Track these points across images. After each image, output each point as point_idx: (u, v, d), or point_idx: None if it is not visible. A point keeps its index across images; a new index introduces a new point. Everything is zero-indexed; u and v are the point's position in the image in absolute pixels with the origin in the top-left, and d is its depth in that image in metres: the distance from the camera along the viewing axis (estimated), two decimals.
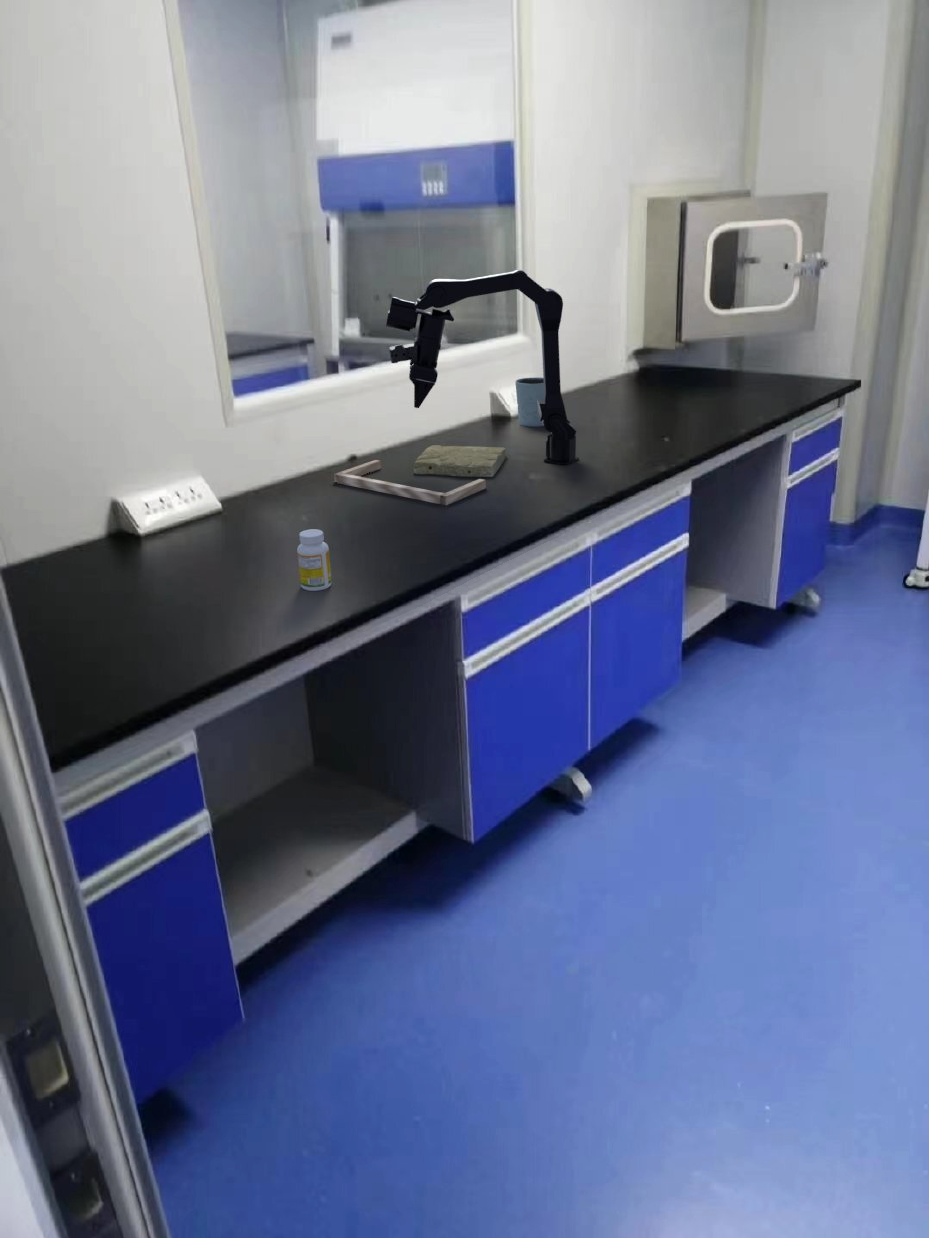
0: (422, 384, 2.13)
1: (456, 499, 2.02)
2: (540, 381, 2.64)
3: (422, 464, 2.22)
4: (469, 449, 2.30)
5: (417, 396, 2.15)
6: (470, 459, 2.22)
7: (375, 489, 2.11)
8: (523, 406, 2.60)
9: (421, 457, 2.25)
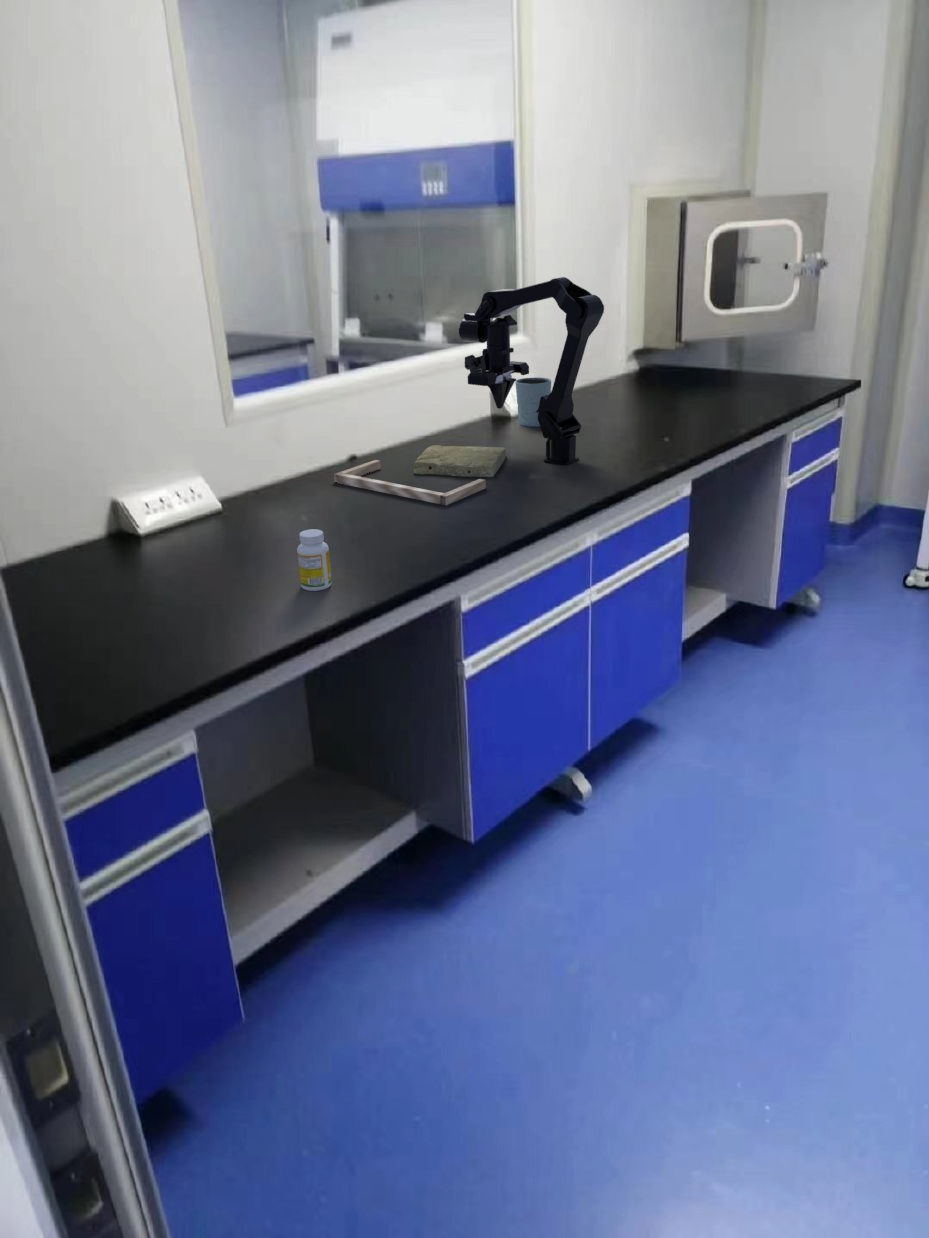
0: (496, 386, 2.32)
1: (456, 499, 2.02)
2: (540, 381, 2.64)
3: (422, 464, 2.22)
4: (469, 449, 2.30)
5: (495, 397, 2.33)
6: (470, 459, 2.22)
7: (375, 489, 2.11)
8: (523, 406, 2.60)
9: (421, 457, 2.25)
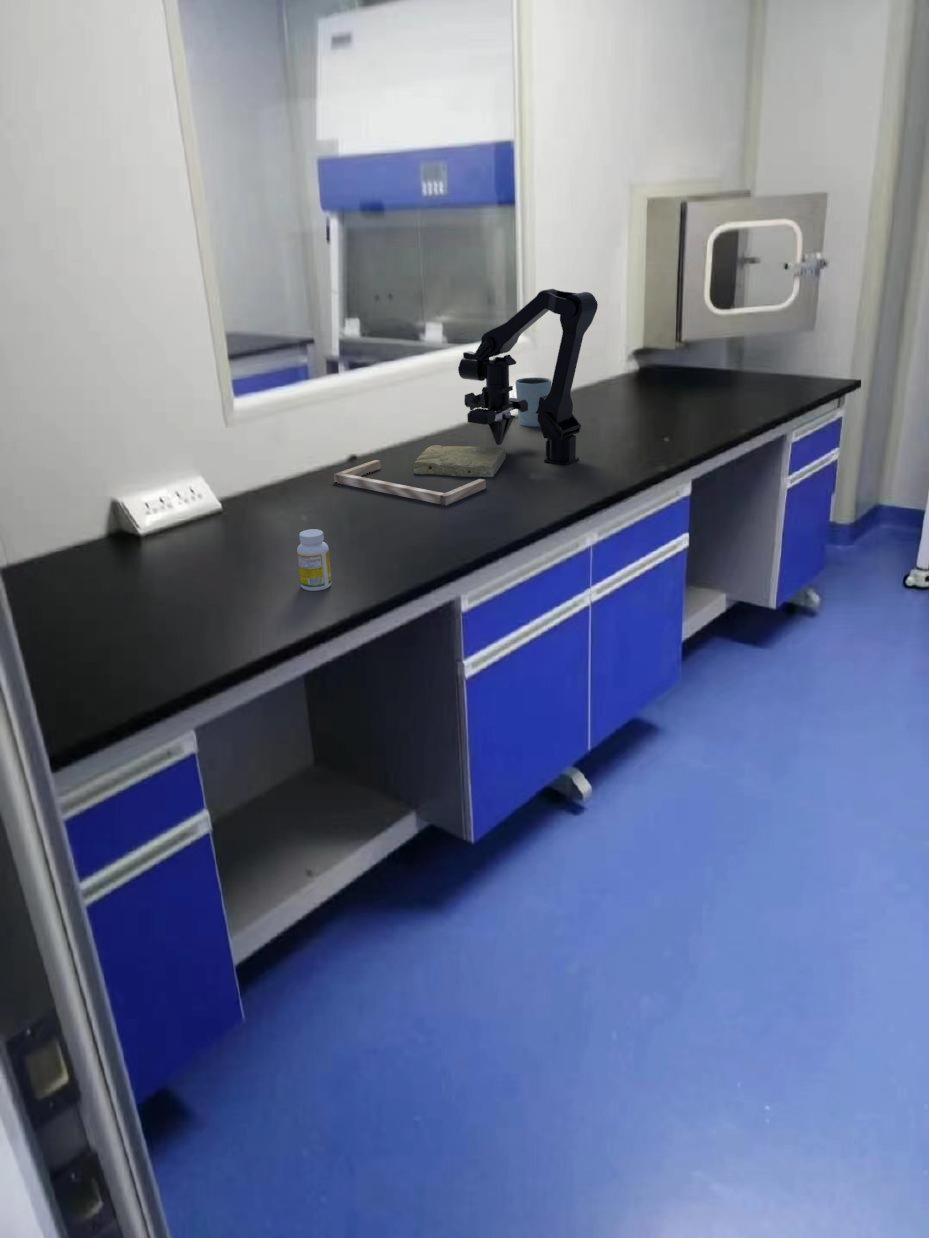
0: (496, 423, 2.35)
1: (456, 499, 2.02)
2: (540, 381, 2.64)
3: (422, 464, 2.22)
4: (469, 449, 2.30)
5: (495, 434, 2.37)
6: (470, 459, 2.22)
7: (375, 489, 2.11)
8: None
9: (421, 457, 2.25)
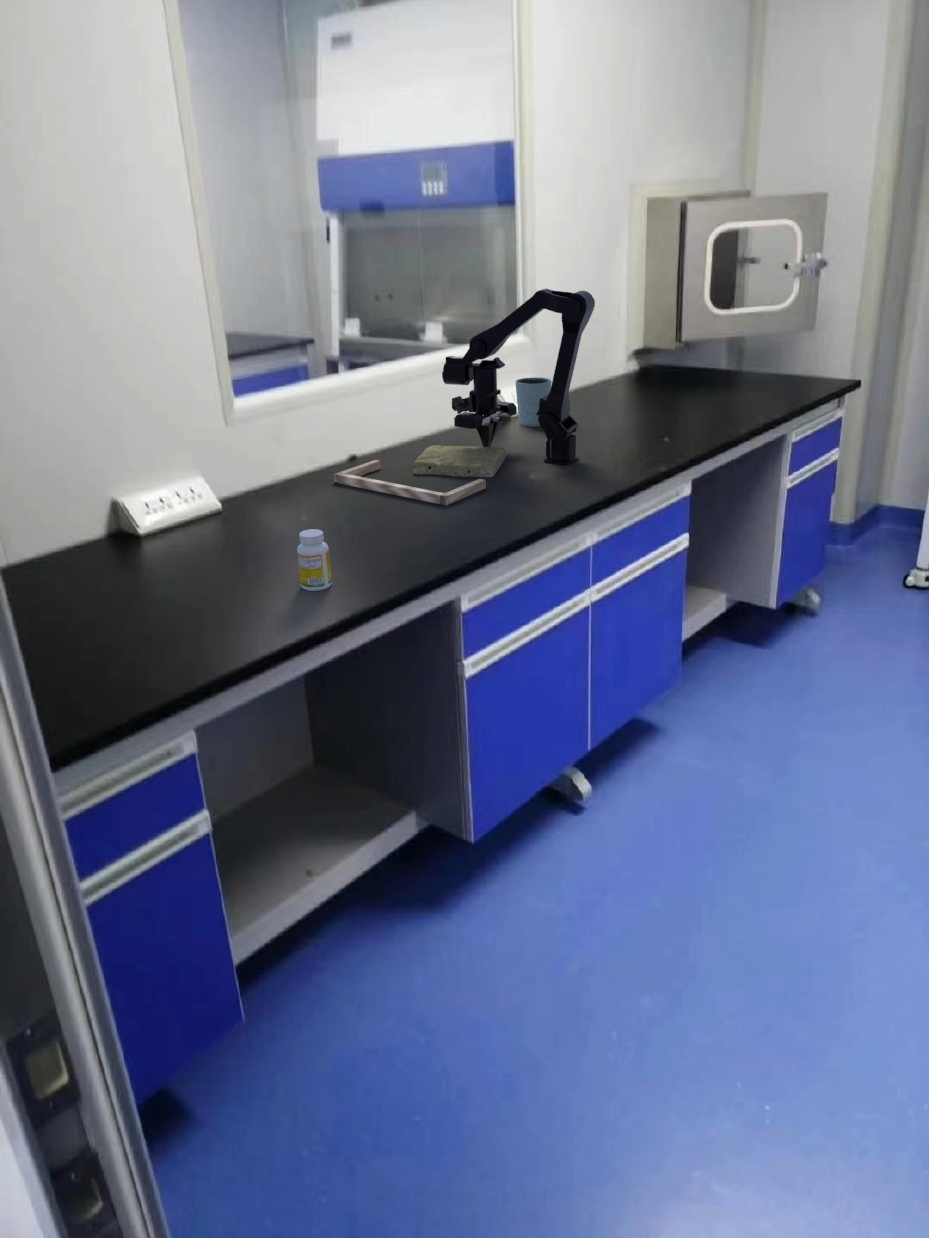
0: (483, 427, 2.32)
1: (456, 499, 2.02)
2: (540, 381, 2.64)
3: (422, 464, 2.22)
4: (469, 449, 2.30)
5: (482, 438, 2.33)
6: (470, 459, 2.22)
7: (375, 489, 2.11)
8: (523, 406, 2.60)
9: (421, 457, 2.24)
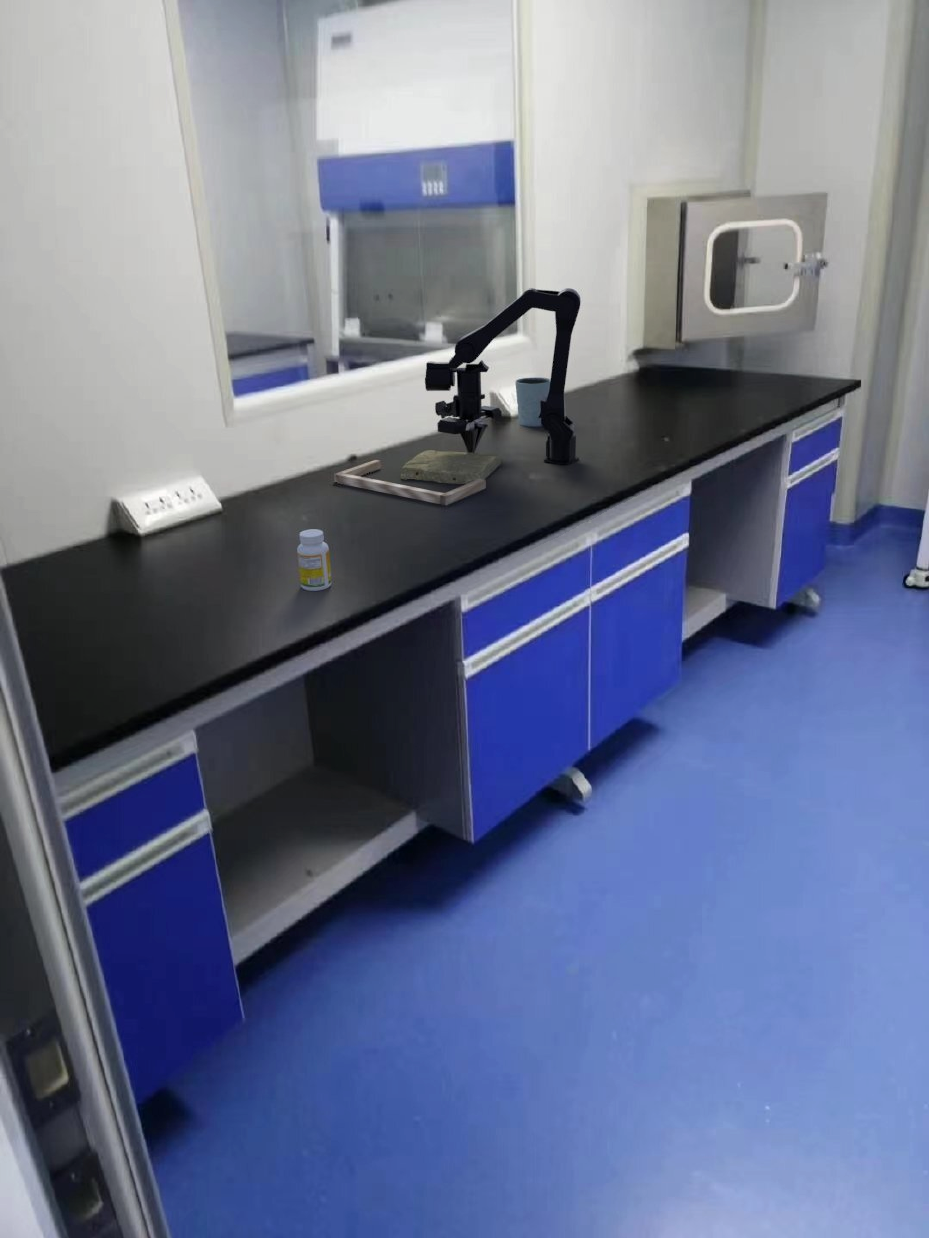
0: (468, 432, 2.27)
1: (456, 499, 2.02)
2: (540, 381, 2.64)
3: (409, 469, 2.18)
4: (462, 455, 2.25)
5: (467, 444, 2.29)
6: (458, 466, 2.17)
7: (375, 489, 2.11)
8: (523, 406, 2.60)
9: (410, 462, 2.21)
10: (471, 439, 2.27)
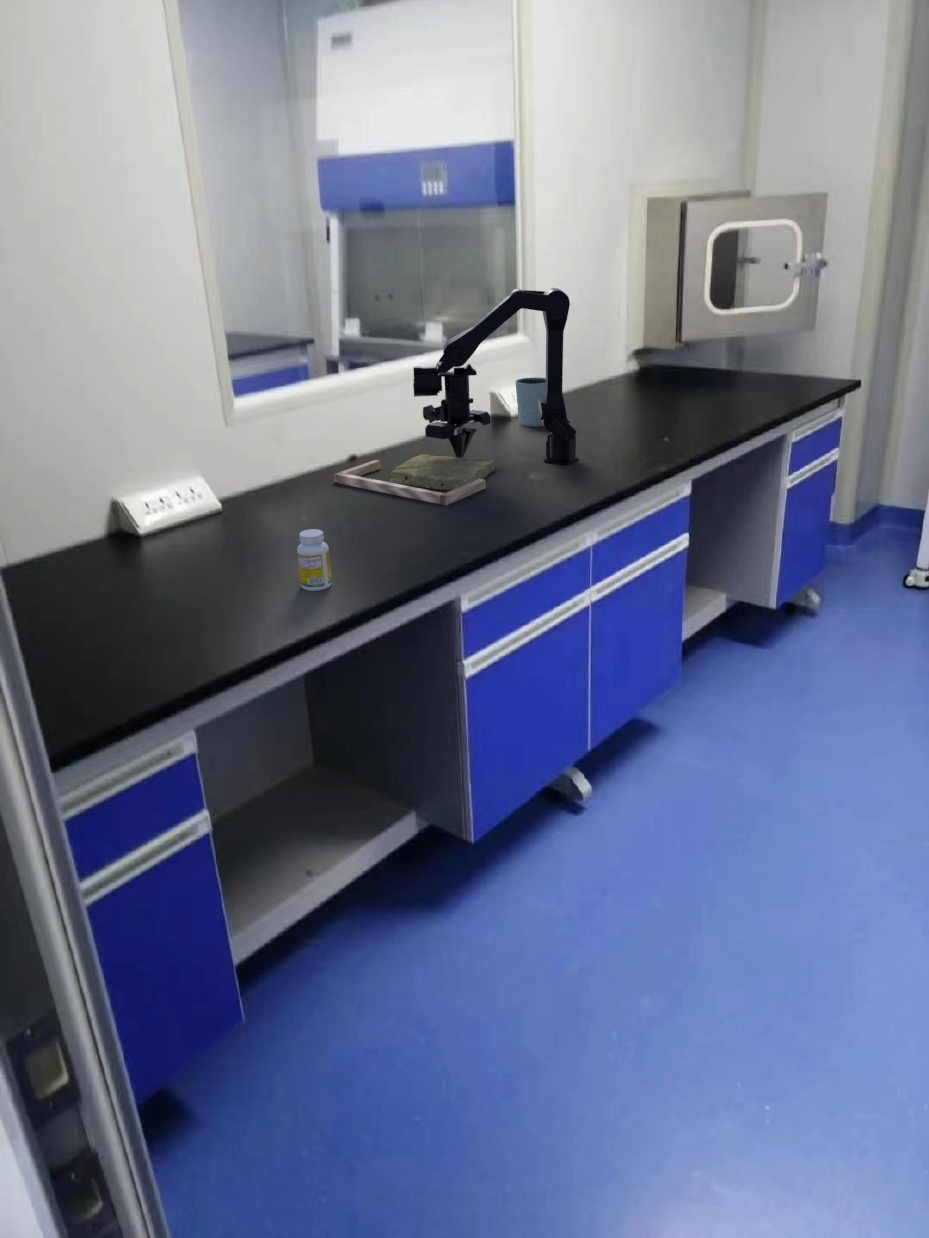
0: (456, 437, 2.23)
1: (456, 499, 2.02)
2: (540, 381, 2.64)
3: (398, 474, 2.15)
4: (454, 460, 2.22)
5: (455, 449, 2.25)
6: (448, 471, 2.13)
7: (375, 489, 2.11)
8: (523, 406, 2.60)
9: (400, 466, 2.18)
10: (459, 444, 2.23)
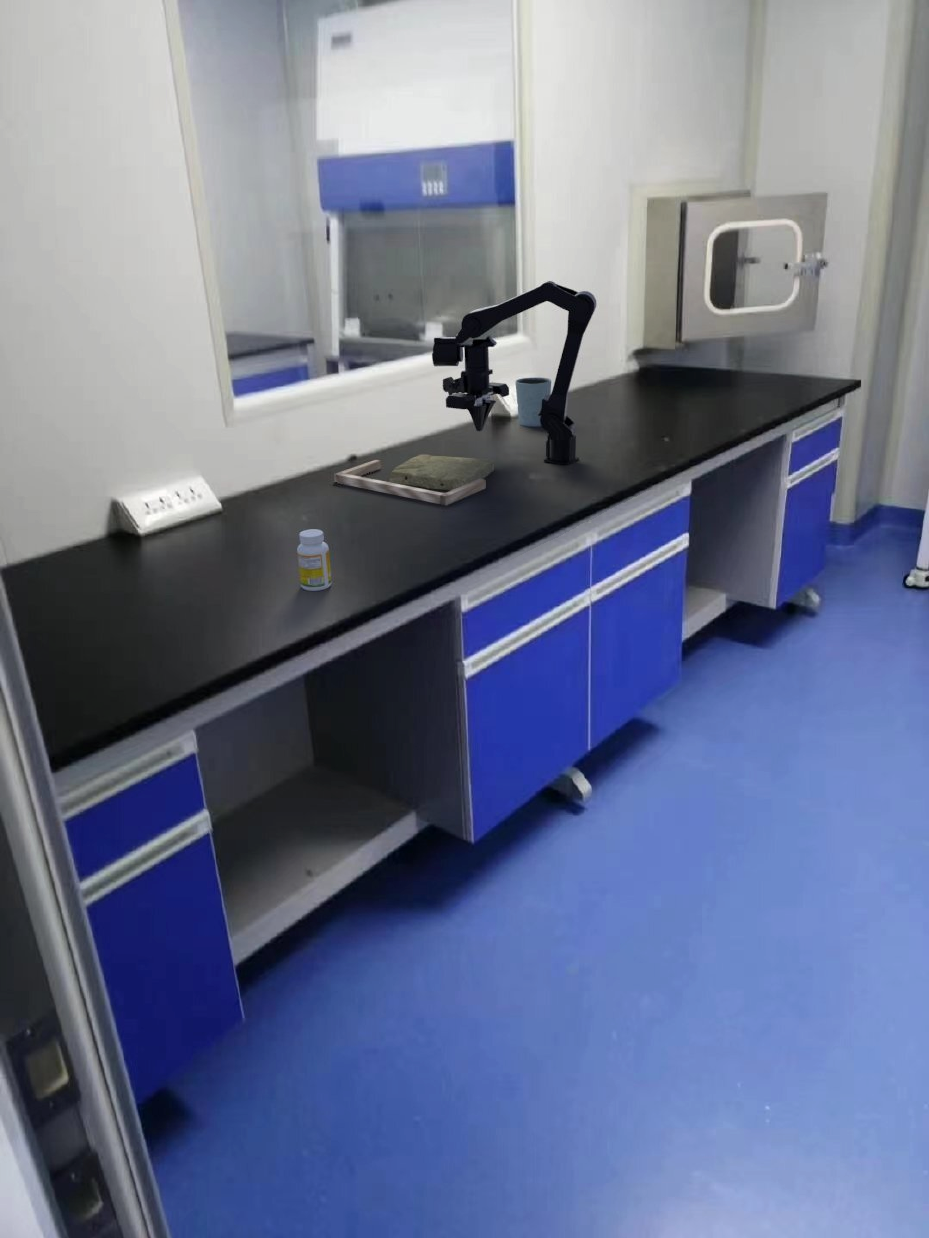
0: (476, 408, 2.26)
1: (456, 499, 2.02)
2: (540, 381, 2.64)
3: (398, 474, 2.15)
4: (454, 460, 2.21)
5: (475, 420, 2.27)
6: (447, 471, 2.13)
7: (375, 489, 2.11)
8: (523, 406, 2.60)
9: (400, 466, 2.18)
10: (479, 415, 2.25)
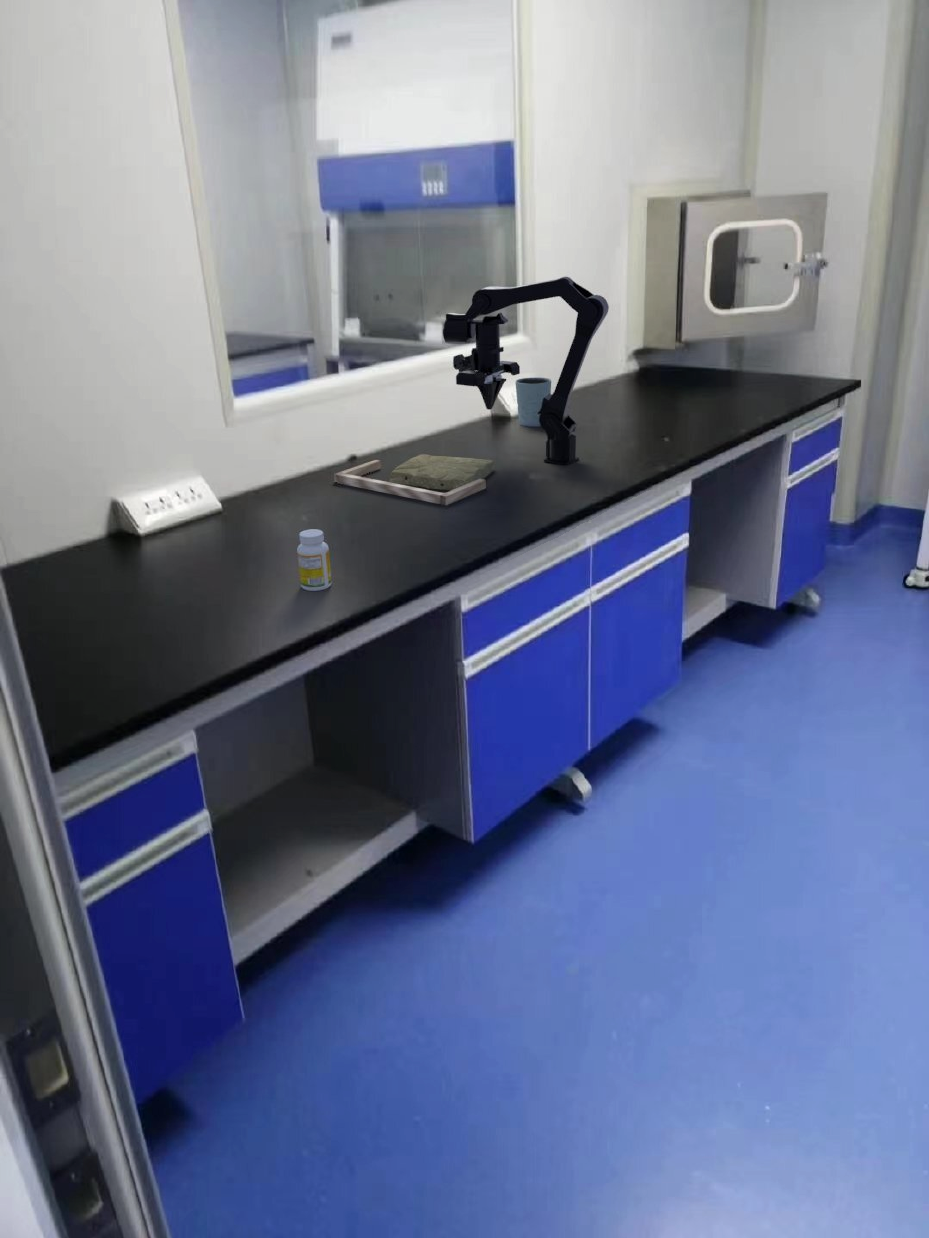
0: (486, 386, 2.25)
1: (456, 499, 2.02)
2: (540, 381, 2.64)
3: (398, 474, 2.15)
4: (454, 460, 2.21)
5: (485, 398, 2.27)
6: (447, 471, 2.13)
7: (375, 489, 2.11)
8: (523, 406, 2.60)
9: (400, 467, 2.18)
10: (489, 393, 2.25)
